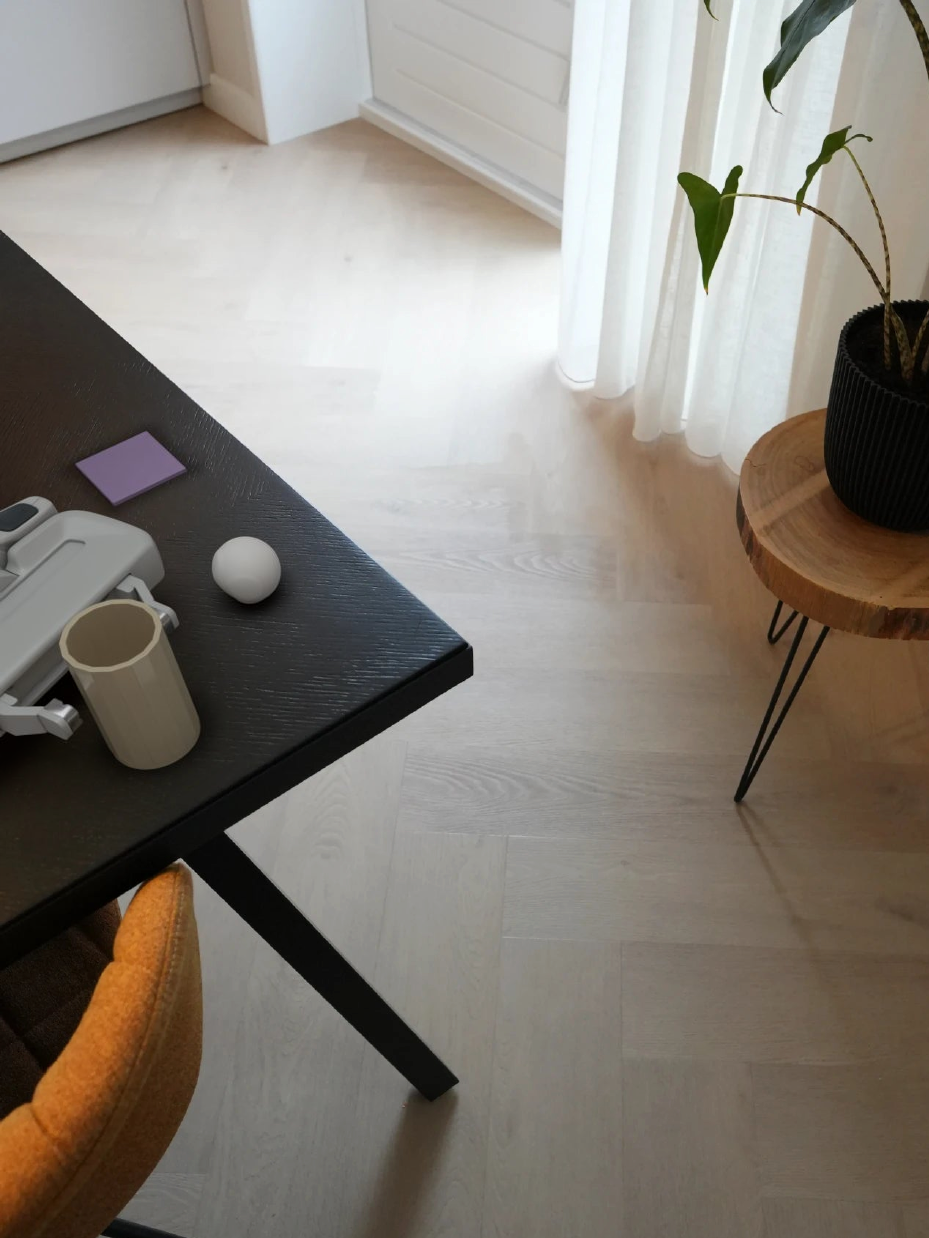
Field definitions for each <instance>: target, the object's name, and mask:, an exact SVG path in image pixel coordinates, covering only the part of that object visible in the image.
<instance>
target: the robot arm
mask: <svg viewBox="0 0 929 1238" xmlns="http://www.w3.org/2000/svg"><path fill="white" fill-rule="evenodd" d="M163 563H164V562H163V559H162V557H161V554H160V551H159V549H158V547H157V544H156V541H155V540H154V538H153V537H152V536H151V534H150V533H148V532H147V531H146V530H144V529H141V528H139V527H137V526H135V525H132V524H129V523H127V522H124V521H121V520H119V519H116V518H112V517H109V516H107V515H102V514H99V513H96V512H92V511H87V510H78V509H74V510H73V509H72V510H66V511H61V512H58V510H57V509H56V507H55V505H54V504H53V502H52V501H50V500H49V499H47V498H45V497H43V496H38V495H34V496H33V495H32V496H28V497H25V498H24V499H22V500H19V501H18V502H16V503H14V504H12V505H10V506H8V507H6V508H4V509H1V510H0V738H1V737H3V736H4V735H5V734H6V733H9V734H11V735H13V736H16V737H17V736H27V735H38V734H39V735H40V734H46V733H50V734H52V735H54V736H56V737H59V738H60V739H63V740H64V741H65V740H66V741H68V740H69V739H70V737H72V736H73V734H74V733H75V732H76V731H77V730H78V729H79V728H80V727H81V725H83V724H84V721H83V719H82V718H81V717H80V713H79V711H78V710H77V709H76V708H75V707H74V706H72V705H70V704H67V703H65V704H64V702H63V701H62V700H59V699H57V698H55V697H54V698H53V699H52V700H50V702H48V703H47V704H46V705H45V706H34V705H35V704H36V703H37V702H38V701H39V700H40V699H41V698H43V697H44V696H45V694H47V693H48V692H49V691H50V690H51V689H52V687H54V685H56V684H57V683H58V682H59V680H61V679H62V678H63V677H64V676H65V675H66V674H67V673H68V672H70V671H69V669H68V667H67V665H66V663H65V661H64V659H63V657H62V654H61V650H60V646H59V642H60V639H61V635H62V632H63V629H64V628H65V627H66V625H67V624H68V623H69V622H70V621H71V620H72V619H73V617H74V616H75V615H77V614H78V613H80V612H82V611H83V610H85V609H87V608H88V607H90V606H92V605H95V604H98V603H101V602H105V601H108V600H115V599H132V600H135V601H139V602H142V603H145V604H147V605H149V606H150V607H151V608H152V609H153V610H155V611H156V612H157V613H158V615H159V617H160V620H161V622H162V625H163V627H164V630H165V632H166V635H167V637H168V638H169V636H170V635H171V634H172V633H173V632H174V631H175V630H176V628H177V627H179V625H180V621H179V619H178V616H177V614H176V612H175V610H174V609H172V608H171V607H169V606H167V605H165V604H163V603H160V602H158V601H156V600H155V598H154V597H153V595H152V593H151V591H152V590H153V589H154V588H155V587H156V586H157V585H158V584H159V583H160V582H161V581H162V580H163V579H164V578H165V574H166V573H165V568H164V564H163Z"/></svg>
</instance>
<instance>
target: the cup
mask: <svg viewBox="0 0 929 1238" xmlns="http://www.w3.org/2000/svg"><path fill="white" fill-rule="evenodd" d="M59 646H60V650H61V654H62V657H63V659H64V661H65V663H66V665H67V667H68V669H69V671H68V672H70V675H71V676H72V679H73V680H74V682H75V685H76V687H77V689H78V690H79V692H80V694H81V696H82V698H83V701H84V702H85V704H86V706H87V708H88V710H89V712H90V714H91V716H92V717H93V720H94V722H95V723H96V726H97V727H98V729H99V731H100V734H101V736H102V737H103V739H104V741H105V743H106V745H107V747H108V749H109V750H110V752H111V753H112V756H114V758H115V759H116V760H117V761H119V762H120V763H121V764H122V765H124V766H127V767H129V768H131V769H138V770H155V769H160V768H163V767H166V766H169V765H171V764H174V763H175V762H178V761H179V760H180V759H182V758H183V757H185V756H186V755H187V754H188V753H189V752H190V751H191V750H192V749H193V748H194V746H195V745H196V743H197V742H198V739H199V737H200V733H201V727H202V726H201V719H200V717H199V714H198V712H197V709H196V706H195V703H194V701H193V699H192V696H191V694H190V690H189V688H188V686H187V683H186V681H185V678H184V676H183V673H182V670H181V668H180V665H179V663H178V660H177V658H176V655H175V653H174V651H173V647H172V645H171V643H170V640H169V636H168V637H167V635H166V632H165V630H164V627H163V625H162V622H161V620H160V617H159V615H158V613H157V612H156V611H155V610H153V609H152V608H151V607H150V606H149V605H147V604H145V603H142V602H139V601H135V600H132V599H115V600H108V601H105V602H101V603H98V604H95V605H92V606H90V607H88V608H87V609H85V610H83V611H82V612H80V613H78V614H77V615H75V616H74V617H73V619H72V620H71V621H70V622H69V623H68V624H67V625H66V627H65V628H64V629H63V632H62V635H61V639H60V642H59Z"/></svg>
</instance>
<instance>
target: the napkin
mask: <svg viewBox="0 0 929 1238" xmlns="http://www.w3.org/2000/svg"><path fill="white" fill-rule="evenodd" d="M75 467H76V468H77V469H78V470H79V471H80V473H82V474H83V475H84V477H85V478H86V479H87V480H88V481H89V482H90V483H91V484H92V485H93V486H94V487H95V488H96V489H97V490H98V491H99V492H100V493H101V494H102V495H103V496H104V497H105V499H106V500H107V501H109V503H110V504H111V505H112V506H113V507H118V505H121V504H124V503H125V502H128V501H129V500H131V499H133V498H135V497H138V496H139V495H141V494H143V493H146V492H148V491H150V490H151V489H154V488H156V487H158V486H160V485H162V484H164V483H166V482H168V481H171V480H172V479H174V478H176V477H179V476H182V474H185V473H187V472H188V470H187V468H186V467H185V466H184V465H183V464H182V463H181V462H180V461H179V460H178V459H177V458H176V457H175V456H173V454H172V453H171V452H170V451H168V449H166V448H165V447H164V446H163V445H162V444H161V443H160V442H159V441H158V440H157V439H155V437H154V436H152V435H151V434H150V433H149V432H148V431H147V430H146V431H143V432H141V433H138V434H136V435H135V436H133V437H130V438H128V439H126V440H123V441H121V442H119V443H117V444H115V445H113V446H110V447H108V448H106V449H104V450H102V451H99V452H98V453H95V454H94V455H90V456H89V457H86V458H85V459H82V460H80V461H78V462H76V463H75Z"/></svg>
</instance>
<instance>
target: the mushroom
mask: <svg viewBox="0 0 929 1238" xmlns="http://www.w3.org/2000/svg"><path fill="white" fill-rule="evenodd" d="M211 573H212V578H213V580H214V581H215V583H216V584H217V586H218V587H219V588H220V589H221V590H222V591H223V592H225V593H226V594H227V595H229V596H231V597H232V598H234V599H235V600H236V601H238V602H240V603H243V604H246V605H247V604H248V605H250V604H257V603H259V602H262V601H263V600H265V599H267V598H268V597H269V596H271V594H273V592H274V591H275V590H276V589H277V588H278V585H279V584H280V580H281V574H282V568H281V562H280V559H279V557H278V555H277V553H276V551H275V550H274V549H273V548H272V547H271V546H270V545H269V544H268V543H267V542H265V541H263V540H261V539H259V538H257V537H254V536H238V537H233V538H231V539H229V540H228V541H226V542H224V543H223V544H222V545H221V546H220V547H219V548H218V549H217V550H216V551H215V553H214V555H213V556H212V562H211Z"/></svg>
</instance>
